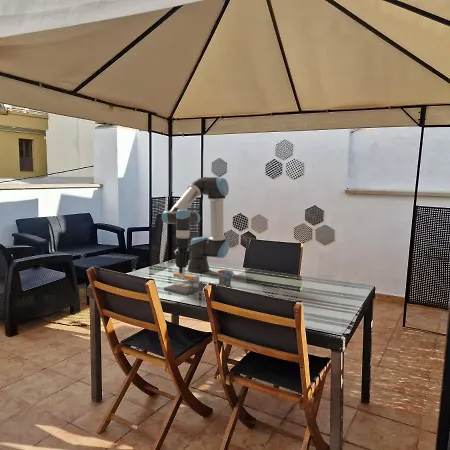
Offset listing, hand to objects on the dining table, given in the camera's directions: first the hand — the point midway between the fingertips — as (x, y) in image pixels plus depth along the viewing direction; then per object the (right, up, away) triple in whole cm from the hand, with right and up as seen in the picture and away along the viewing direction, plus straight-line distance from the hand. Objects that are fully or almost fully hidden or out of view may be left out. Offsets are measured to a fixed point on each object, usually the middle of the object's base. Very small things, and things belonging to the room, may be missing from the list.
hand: (181, 278), depth 218 cm
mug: (+25, -7, +4) cm, 26 cm away
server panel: (+3, -6, +3) cm, 8 cm away
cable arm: (+2, -1, +3) cm, 4 cm away
